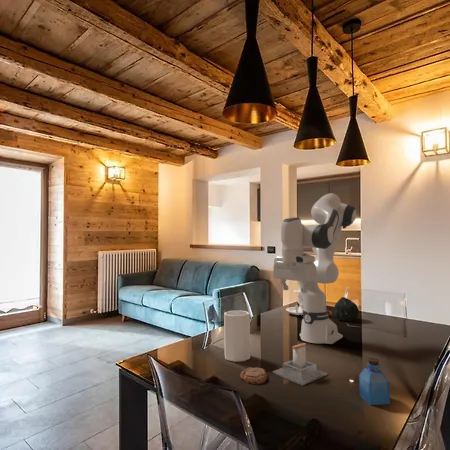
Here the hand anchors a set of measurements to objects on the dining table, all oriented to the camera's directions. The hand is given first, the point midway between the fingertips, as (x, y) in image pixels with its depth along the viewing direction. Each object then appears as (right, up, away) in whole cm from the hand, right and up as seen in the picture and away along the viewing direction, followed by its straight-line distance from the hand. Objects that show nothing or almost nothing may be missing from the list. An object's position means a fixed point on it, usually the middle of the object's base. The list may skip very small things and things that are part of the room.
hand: (294, 291), depth 133 cm
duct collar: (-1, -28, -13) cm, 31 cm away
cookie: (-18, -28, -16) cm, 37 cm away
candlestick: (+22, -33, +83) cm, 92 cm away
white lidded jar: (-1, -27, -13) cm, 30 cm away
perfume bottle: (+17, -27, -33) cm, 46 cm away
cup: (-23, -29, +5) cm, 37 cm away
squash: (+46, -32, +68) cm, 88 cm away
